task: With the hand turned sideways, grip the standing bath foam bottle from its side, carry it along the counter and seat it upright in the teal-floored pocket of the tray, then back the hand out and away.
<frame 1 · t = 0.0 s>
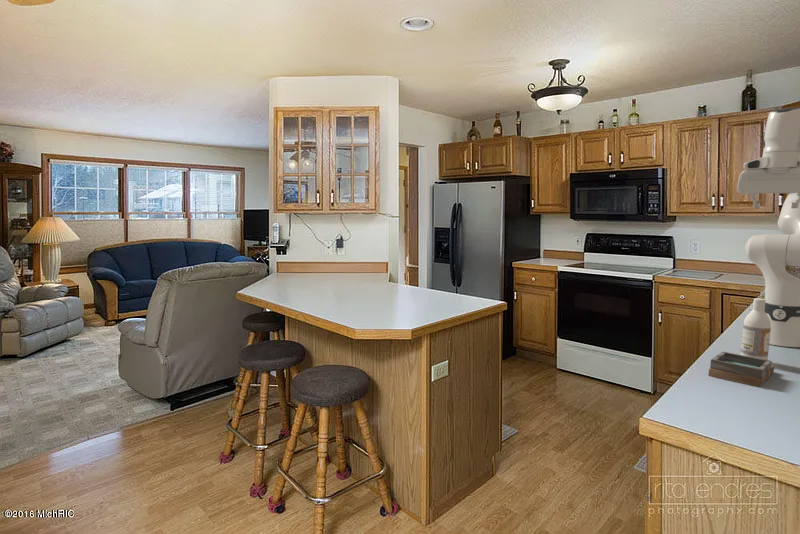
hand: (775, 208, 147), 48 cm above the counter, tool pointing down, fingers open, 8 cm apart
squeeze bottle: (764, 327, 197), on the counter
bath foam: (753, 361, 151), on the counter
tray: (741, 373, 139), on the counter
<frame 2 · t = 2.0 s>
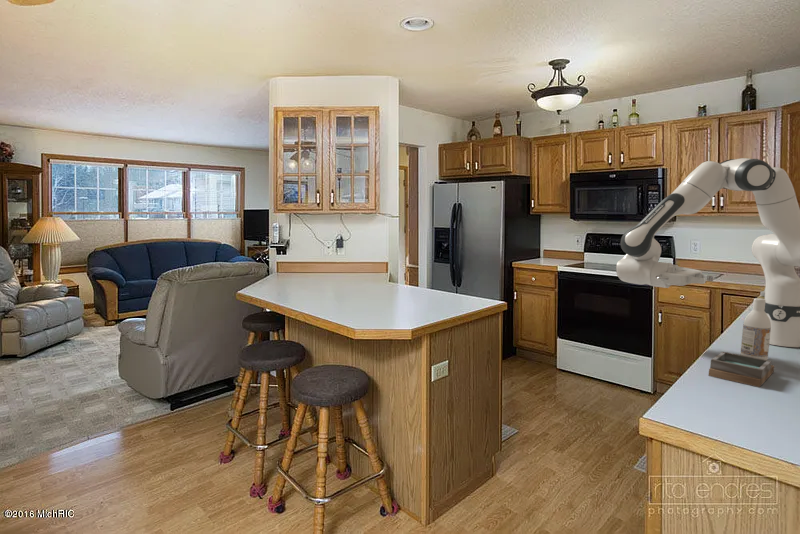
hand: (709, 279, 158), 24 cm above the counter, tool horizontal, fingers open, 8 cm apart
nothing on the counter moved.
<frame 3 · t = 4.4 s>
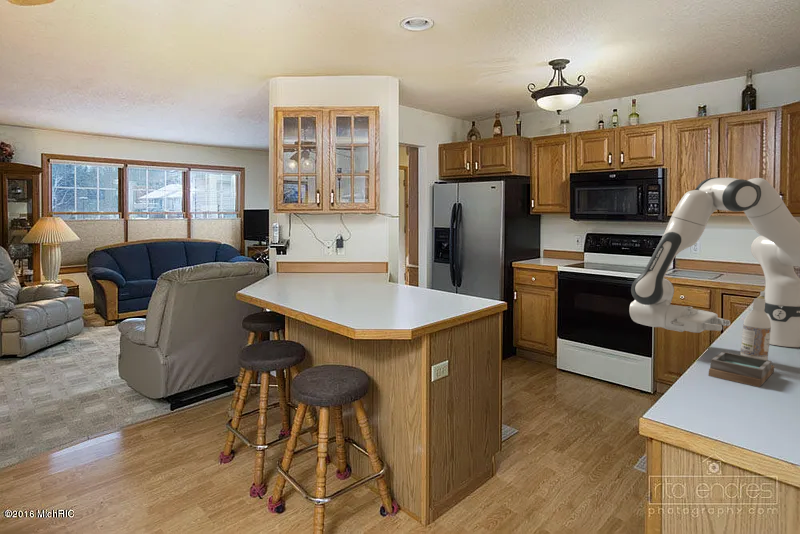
hand: (725, 325, 156), 10 cm above the counter, tool horizontal, fingers open, 8 cm apart
nothing on the counter moved.
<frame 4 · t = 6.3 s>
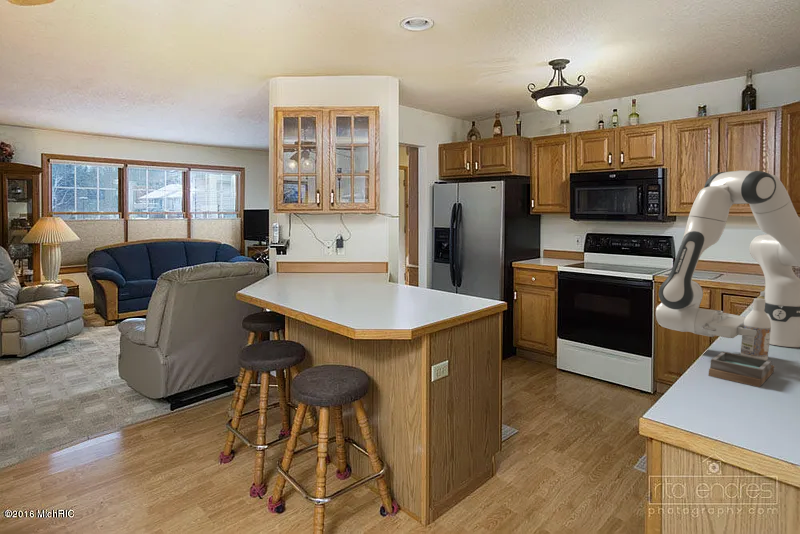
hand: (760, 330, 149), 10 cm above the counter, tool horizontal, fingers closed on bath foam, 7 cm apart
bath foam: (753, 361, 151), on the counter, touching gripper
everything else where it was.
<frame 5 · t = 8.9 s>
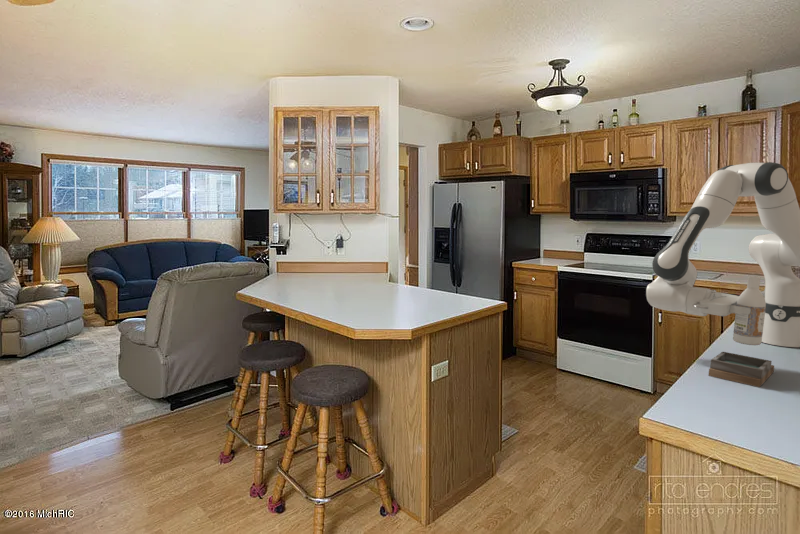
hand: (754, 309, 141), 18 cm above the counter, tool horizontal, fingers closed on bath foam, 7 cm apart
bath foam: (746, 343, 143), point 8 cm above the counter, touching gripper
everything else where it was.
when the fingers open (13 cm above the counter, at t = 11.3 s): bath foam stays where it is, resting on tray.
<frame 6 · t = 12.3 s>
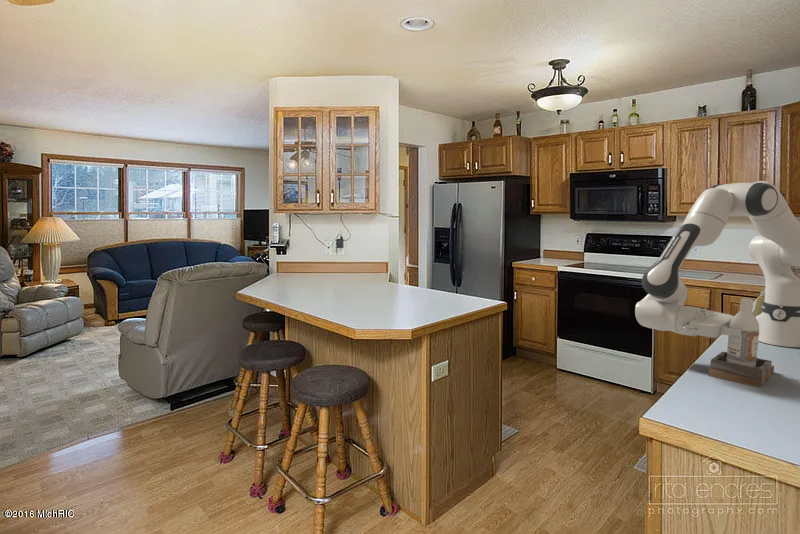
hand: (745, 329, 136), 14 cm above the counter, tool horizontal, fingers open, 8 cm apart
bath foam: (740, 367, 138), point 2 cm above the counter, touching gripper, tray
everything else where it was.
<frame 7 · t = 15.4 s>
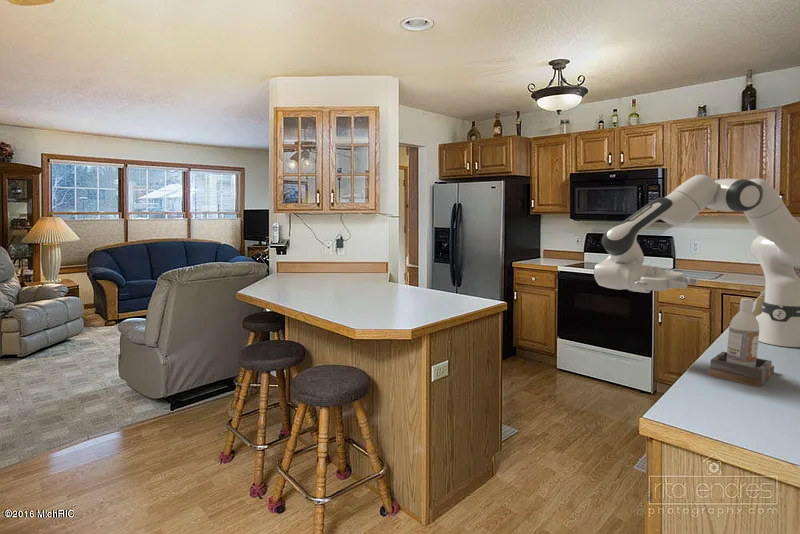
hand: (691, 283, 145), 25 cm above the counter, tool horizontal, fingers open, 8 cm apart
bath foam: (740, 367, 138), point 2 cm above the counter, touching tray
everything else where it was.
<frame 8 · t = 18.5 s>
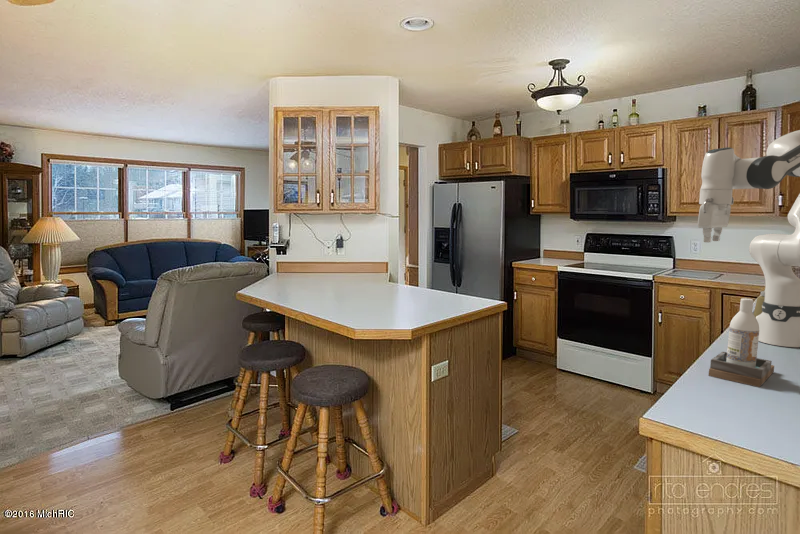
hand: (711, 241, 156), 37 cm above the counter, tool pointing down, fingers open, 8 cm apart
nothing on the counter moved.
at the end: bath foam 0.5 cm from the target spot on the tray, point 2.1 cm above the tray's base; bath foam tilted 0°; the gripper is holding nothing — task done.
